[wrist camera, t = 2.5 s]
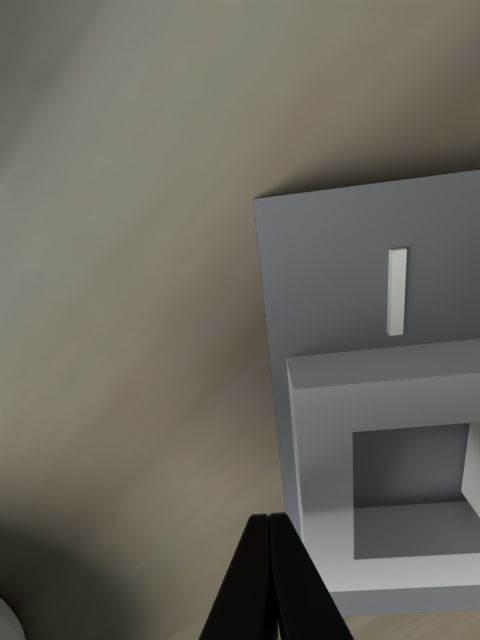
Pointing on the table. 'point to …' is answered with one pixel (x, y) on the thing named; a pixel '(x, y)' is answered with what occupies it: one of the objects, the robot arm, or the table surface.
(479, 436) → the fader knob
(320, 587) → the robot arm
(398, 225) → the console
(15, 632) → the ramekin
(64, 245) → the table surface
